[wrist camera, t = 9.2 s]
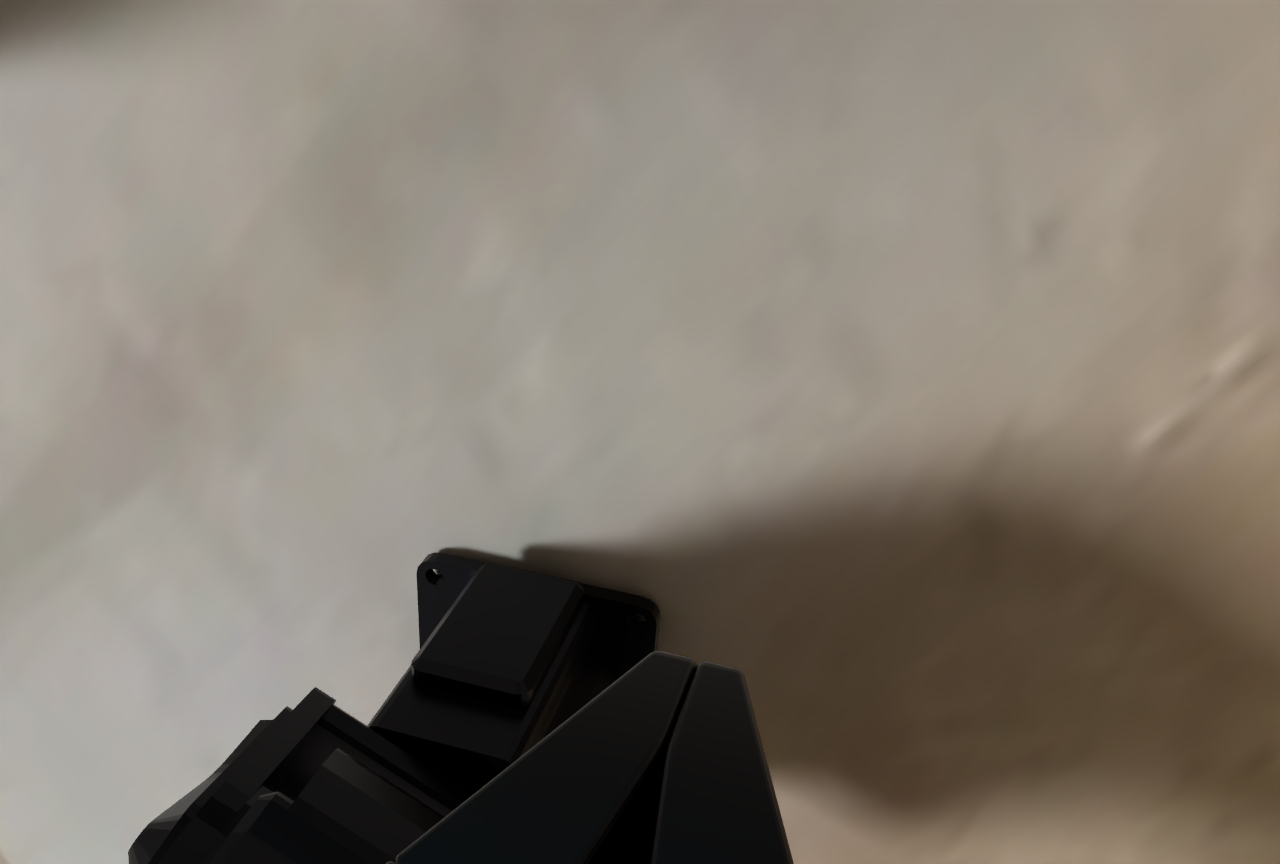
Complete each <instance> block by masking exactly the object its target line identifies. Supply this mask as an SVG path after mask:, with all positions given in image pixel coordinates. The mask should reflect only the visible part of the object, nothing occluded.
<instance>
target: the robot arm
mask: <svg viewBox="0 0 1280 864" xmlns="http://www.w3.org/2000/svg"><path fill="white" fill-rule="evenodd" d="M433 569H436V570H438V571H439V572H440V573H441V574H442V576H443V577H441V576H439V575H437V574H436V573H435V572H434V571H433ZM417 590H418V613H419V636H420V650H419V652H418V653H417V654H416V656H415V657H414V659H413V661H412V664H411V666H410V667H409V669H408V670H407V671H406V673H405V674H404V676H403V677H402V678H401V680H400V681H399V682H398V684H397V685H396V687H395V688H394V689H393V691H392V692H391V694H390V695H389V696H388V698H387V699H386V701H385V702H384V703H383V705H382V706H381V708H380V709H379V710H378V712H377V713H376V714H375V716H374V717H373V719H372V720H371V721H370V723H369V724H368V726H366V725H365V724H363V723H362V722H360V721H359V720H357V719H355V718H354V717H352V716H351V715H349V714H348V713H346V712H345V711H343V710H342V709H340V708H338V707H337V706H335V705H334V703H335V702H336V700H335V699H333V698H331V697H330V696H328V695H327V694H325V693H324V692H322V691H321V690H319V689H318V688H316V687H315V688H314V689H313V690H312V691H311V692H310V693H309V694H308V695H307V696H306V697H305V698H304V699H303V700H302V701H301V702H300V703H299V704H298V705H297V706H296V708H295V709H294V710H292V709H291V708H289V707H286V708H285V709H284V710H283V711H282V712H281V713H280V714H279V715H278V716H277V717H276V718H275V719H274V720H260V721H259V722H258V724H257V725H256V726H255V727H254V728H253V729H252V731H251V732H250V733H249V734H248V735H247V736H246V738H245V739H244V740H243V741H242V742H241V743H240V744H239V746H238V747H237V748H236V749H235V750H234V751H233V753H232V754H231V755H230V756H229V757H228V758H227V759H226V760H225V762H224V763H223V764H222V765H221V766H220V767H219V768H218V769H217V770H216V771H215V772H214V773H213V774H212V775H211V776H210V777H209V778H207V779H206V780H205V781H204V782H202V783H201V784H200V785H199V786H197V787H196V788H195V789H193V790H192V791H191V792H189V793H188V794H187V795H186V796H184V797H183V798H182V799H180V800H179V801H178V802H176V803H175V804H174V805H172V806H171V807H170V808H169V809H167V810H166V811H165V812H163V813H162V814H161V815H159V816H158V817H157V818H155V819H154V820H153V821H152V822H150V823H149V824H148V825H147V827H146V828H145V829H144V830H143V831H142V832H141V834H140V835H139V836H138V837H137V839H136V840H135V842H134V843H133V844H132V846H131V848H130V849H129V852H128V856H129V864H794V863H793V859H792V855H791V852H790V848H789V844H788V840H787V836H786V833H785V829H784V825H783V821H782V817H781V814H780V810H779V806H778V802H777V798H776V795H775V791H774V787H773V783H772V779H771V776H770V772H769V768H768V764H767V760H766V757H765V753H764V749H763V745H762V741H761V738H760V734H759V730H758V726H757V722H756V719H755V715H754V711H753V707H752V703H751V700H750V696H749V692H748V688H747V684H746V680H745V677H744V675H743V673H742V671H740V670H739V669H737V668H734V667H729V666H725V665H721V664H716V663H712V662H707V661H703V662H701V663H700V664H699V665H698V666H697V665H696V662H695V661H694V660H693V659H692V658H690V657H685V656H681V655H677V654H672V653H668V652H663V651H657V647H658V636H659V626H660V610H659V609H658V607H657V605H656V604H655V603H654V602H652V601H651V600H650V599H647V598H645V597H642V596H637V595H633V594H628V593H623V592H619V591H614V590H610V589H605V588H600V587H596V586H591V585H586V584H582V583H577V582H574V581H570V580H565V579H561V578H556V577H552V576H547V575H542V574H538V573H533V572H528V571H524V570H519V569H515V568H510V567H505V566H501V565H496V564H491V563H485V562H480V561H475V560H471V559H466V558H462V557H457V556H452V555H448V554H443V553H432V554H429V555H428V556H427V557H426V558H425V559H424V561H423V562H422V563H421V564H420V565H419V567H418V569H417ZM632 614H640V615H642V616H643V617H644V618H645V619H646V621H640V620H638V619H636V618H635V617H634V616H633V615H632Z"/></svg>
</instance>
